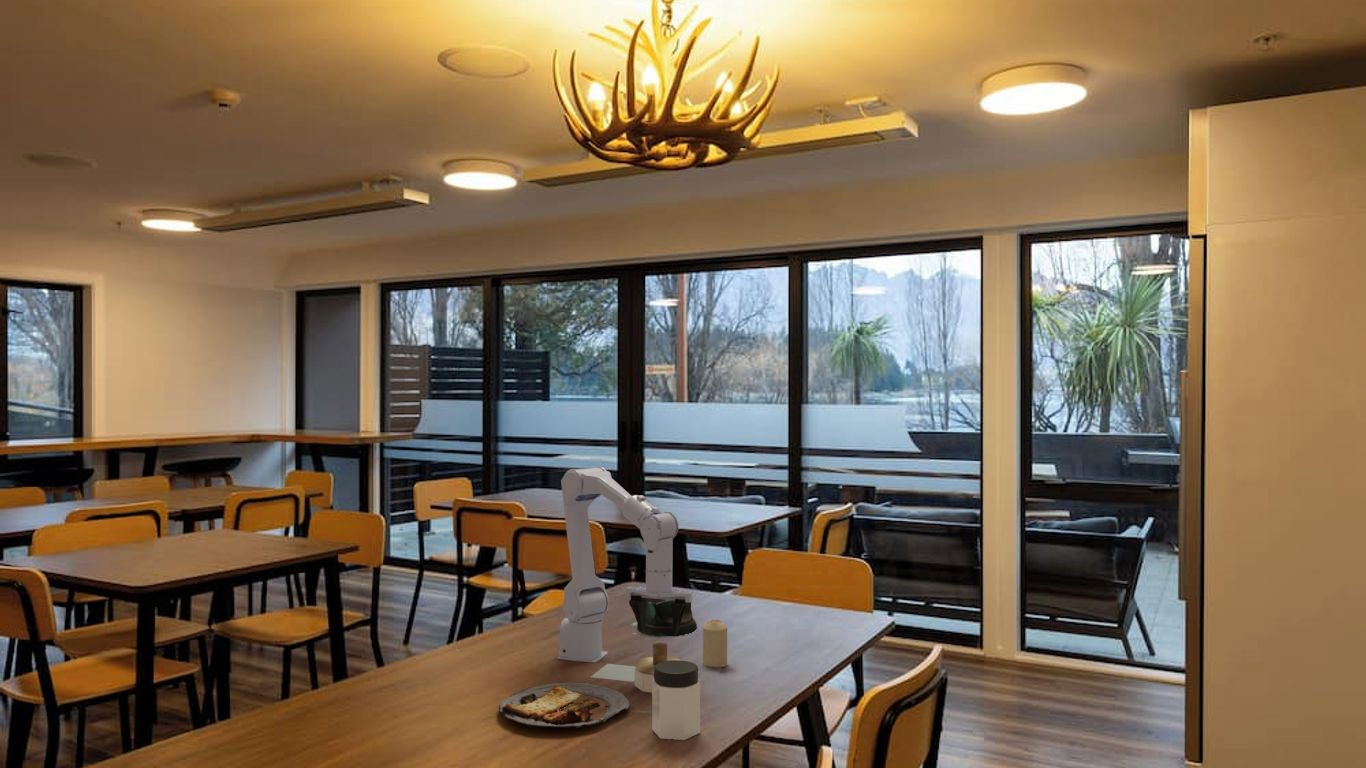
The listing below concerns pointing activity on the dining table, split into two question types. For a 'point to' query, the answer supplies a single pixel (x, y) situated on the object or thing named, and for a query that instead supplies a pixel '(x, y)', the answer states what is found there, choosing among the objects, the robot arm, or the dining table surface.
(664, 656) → the lid
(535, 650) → the dining table surface
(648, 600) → the black rounded piece
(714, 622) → the candle
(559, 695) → the food plate
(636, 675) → the bowl
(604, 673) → the mat
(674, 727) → the jar
